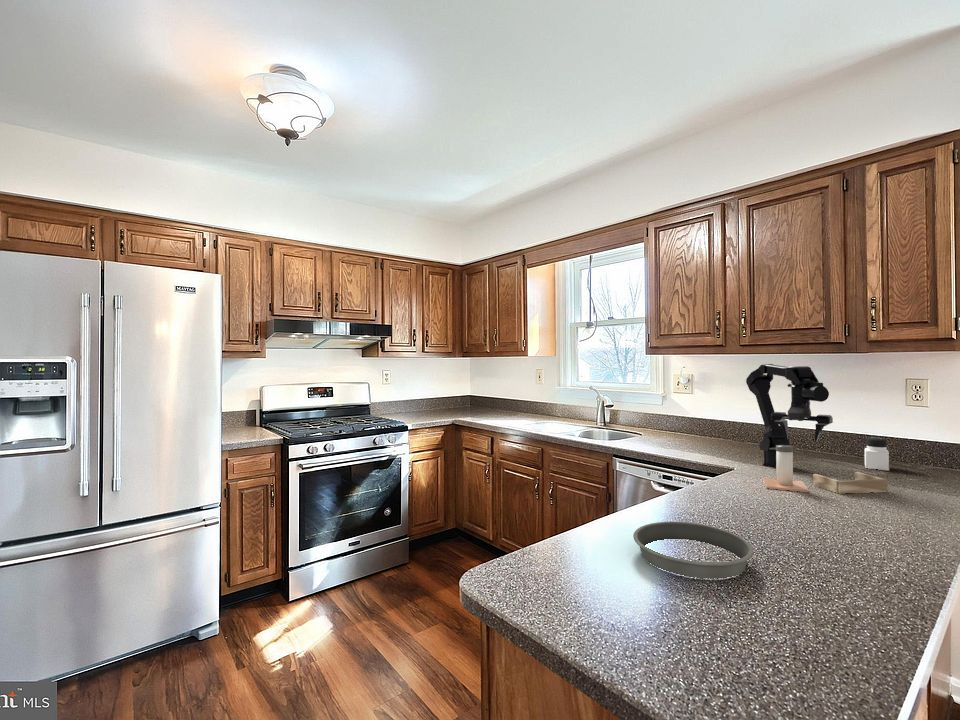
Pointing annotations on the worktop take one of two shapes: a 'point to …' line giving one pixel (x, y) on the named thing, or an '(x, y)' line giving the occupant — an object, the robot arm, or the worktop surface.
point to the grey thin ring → (699, 534)
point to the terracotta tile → (795, 487)
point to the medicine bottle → (877, 454)
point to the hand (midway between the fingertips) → (801, 440)
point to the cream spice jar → (784, 464)
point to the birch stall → (852, 484)
